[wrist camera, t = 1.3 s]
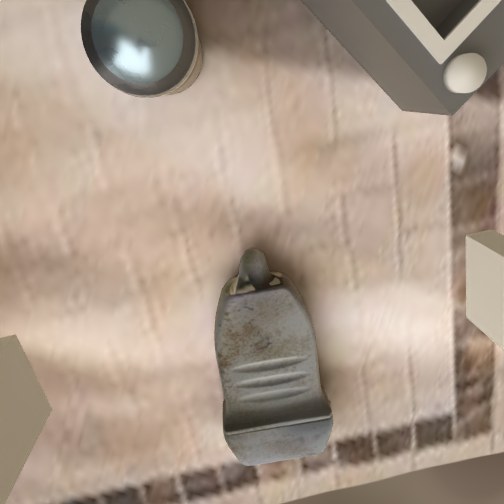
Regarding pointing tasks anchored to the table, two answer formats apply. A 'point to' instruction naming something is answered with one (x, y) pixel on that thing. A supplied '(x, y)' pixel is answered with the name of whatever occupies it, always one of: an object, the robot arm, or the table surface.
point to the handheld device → (269, 368)
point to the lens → (142, 45)
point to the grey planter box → (420, 46)
